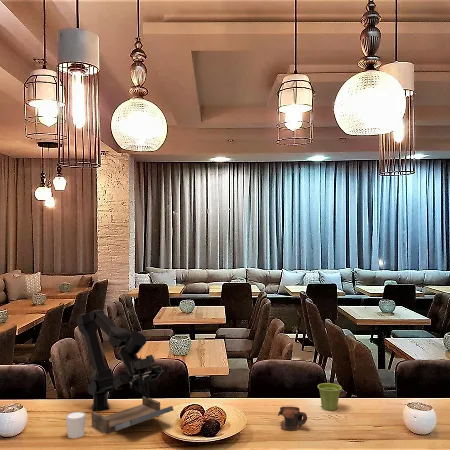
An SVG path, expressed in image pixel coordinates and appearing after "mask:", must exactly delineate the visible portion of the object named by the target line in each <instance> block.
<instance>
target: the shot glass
mask: <svg viewBox="0 0 450 450" xmlns="http://www.w3.org/2000/svg"><path fill="white" fill-rule="evenodd" d="M86 415H87V414H86V412H83V411H74V412H70V413H68V414H66V416H65V425H66V432H67V434H66V435H67V437H68V438H69V439H79V438H81V437H83V436H84V435H85V430H86V429H85V428H86V420H87V419H86Z"/></svg>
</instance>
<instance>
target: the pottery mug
mask: <svg viewBox="0 0 450 450" xmlns="http://www.w3.org/2000/svg"><path fill="white" fill-rule="evenodd" d="M279 409H280V410H279V411H278V414H277V416H278V417H279V416H282V417H284V418H283V419H284V422H281V423H280V430H287V431H288V430H289V431H297V430H298V428H301V427H302V426H303V425H306V423H307V421H308V415H307V413H306V412H303V411H300V407H298V406H287V405H286V406H281V407H280V406H279Z"/></svg>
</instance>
